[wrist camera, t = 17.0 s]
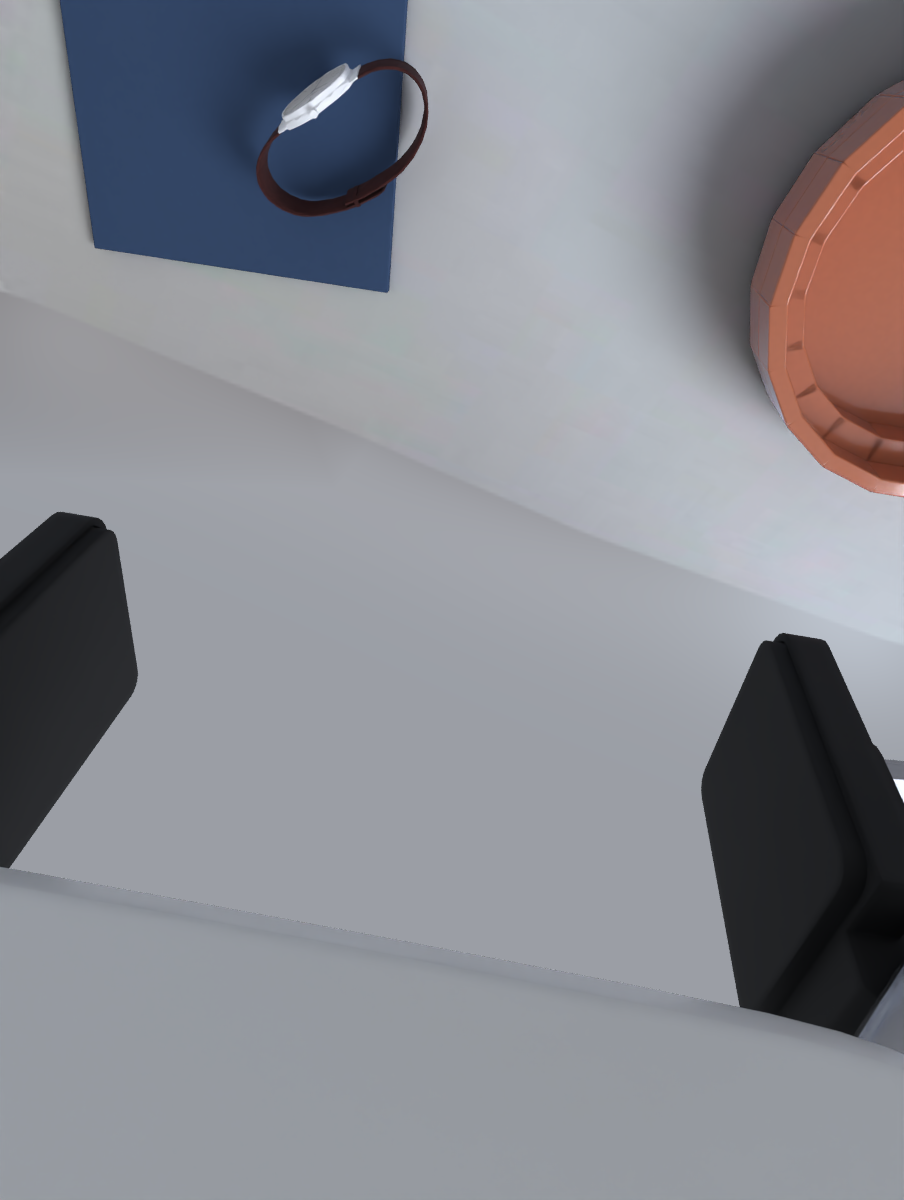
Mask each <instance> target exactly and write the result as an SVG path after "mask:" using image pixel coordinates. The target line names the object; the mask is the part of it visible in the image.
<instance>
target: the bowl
mask: <svg viewBox="0 0 904 1200" xmlns="http://www.w3.org/2000/svg"><path fill="white" fill-rule="evenodd" d="M750 345H751V349H752V352H753V355H754V358H755V361H756V364H757V366H758V369H759V372H760V375H761V378H762V381H763V384H764V386H765V389H766V392H767V395H768V396H769V398H770V400H771V401H772V403H773V405H774V406H775V408H776V409H777V411H778V413H779V414H780V416H781V418H782V419H783V421H784V422H785V424H786V426H787V427H788V428H789V429H790V431H791V432H792V433H793V434H794V435H795V436H796V437H797V439H798V440H799V441H800V442H801V443H802V444H803V445H804V447H805V448H806V449H807V450H808V451H809V452H810V453H811V455H812V456H813V457H814V458H815V459H816V460H817V461H818V463H819V464H820V465H821V466H823V467H824V468H826V469H828V470H829V471H831V472H833V473H835V474H837V475H839V476H841V477H843V478H845V479H847V480H849V481H851V482H853V483H855V484H856V485H858V486H860V487H862V488H864V489H866V490H868V491H870V492H874V493H881V494H887V495H893V496H899V497H904V80H902V81H901V82H899V83H897V84H895V85H893V86H891V87H890V88H888V89H886V90H884V91H882V92H880V93H879V94H878V96H877V95H876V96H875V97H873V98H872V99H871V100H870V101H869V102H868V103H867V104H866V105H865V106H864V107H863V108H862V109H861V110H860V111H859V112H857V113H856V114H855V115H854V116H853V117H852V118H851V119H850V120H849V121H848V122H847V123H846V124H845V125H844V126H842V127H841V128H840V129H839V130H838V131H837V132H836V133H835V134H834V135H833V136H832V137H831V138H830V139H829V140H827V141H826V142H825V143H824V144H823V145H822V146H821V147H820V148H819V149H818V150H817V151H816V152H815V153H814V154H813V155H812V157H811V159H810V160H809V162H808V163H807V165H806V166H805V168H804V169H803V171H802V172H801V174H800V176H799V177H798V179H797V180H796V182H795V183H794V185H793V186H792V188H791V189H790V191H789V193H788V194H787V196H786V197H785V199H784V200H783V202H782V203H781V205H780V206H779V208H778V210H777V211H776V213H775V214H774V216H773V217H772V220H771V222H770V226H769V229H768V232H767V235H766V238H765V241H764V244H763V247H762V250H761V253H760V257H759V260H758V263H757V266H756V269H755V272H754V275H753V278H752V281H751V287H750Z"/></svg>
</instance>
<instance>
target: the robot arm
mask: <svg viewBox="0 0 904 1200" xmlns="http://www.w3.org/2000/svg"><path fill="white" fill-rule="evenodd" d="M137 676H138V671H137V663H136V657H135V652H134V644H133V638H132V632H131V625H130V619H129V613H128V607H127V600H126V594H125V588H124V581H123V575H122V568H121V562H120V556H119V549H118V543H117V538H116V535H115V534H114V532H113V531H111V530H107V529H106V526H105V524H104V523H103V521H102V520H100V519H99V518H94V517H89V516H83V515H77V514H71V513H65V512H57V513H55V514H53V515H52V516H51V517H49V518H48V519H47V520H46V521H45V522H43V523H42V524H41V525H40V526H39V527H38V528H36V529H35V530H34V531H33V532H32V533H30V534H29V535H28V536H27V537H26V538H25V539H23V540H22V541H21V542H20V543H19V544H18V545H16V546H15V547H14V548H13V549H12V550H10V551H9V552H8V553H7V554H6V555H4V556H3V557H2V558H1V559H0V1200H904V802H903V800H902V797H901V795H900V793H899V791H898V789H897V786H896V784H895V782H894V780H893V778H892V775H891V773H890V771H889V769H888V767H887V765H886V762H885V760H884V758H883V756H882V754H881V753H880V751H879V750H878V748H877V747H876V746H875V745H873V743H872V742H871V739H870V737H869V734H868V732H867V730H866V728H865V725H864V723H863V721H862V719H861V717H860V714H859V712H858V710H857V708H856V706H855V703H854V701H853V699H852V697H851V695H850V692H849V690H848V688H847V686H846V683H845V682H844V679H843V677H842V674H841V672H840V670H839V668H838V666H837V663H836V661H835V659H834V657H833V655H832V652H831V650H830V648H829V646H828V644H827V643H826V641H824V640H821V639H816V638H810V637H804V636H798V635H792V634H786V633H782V634H779V635H778V636H777V637H776V638H775V640H774V641H773V642H772V641H763V643H762V644H761V645H760V647H759V648H758V651H757V653H756V655H755V657H754V660H753V662H752V664H751V666H750V669H749V671H748V673H747V675H746V678H745V680H744V682H743V684H742V687H741V689H740V691H739V694H738V696H737V698H736V700H735V703H734V705H733V707H732V709H731V712H730V714H729V716H728V718H727V721H726V723H725V725H724V728H723V730H722V732H721V734H720V737H719V739H718V741H717V743H716V746H715V748H714V750H713V752H712V755H711V757H710V759H709V762H708V764H707V766H706V768H705V771H704V774H703V778H702V787H701V788H702V789H701V791H702V801H703V806H704V812H705V817H706V823H707V828H708V833H709V839H710V845H711V850H712V856H713V861H714V867H715V872H716V878H717V884H718V889H719V894H720V900H721V906H722V911H723V917H724V922H725V928H726V933H727V938H728V944H729V950H730V955H731V961H732V966H733V972H734V977H735V983H736V989H737V994H738V1000H739V1005H740V1007H736V1006H731V1005H726V1004H722V1003H716V1002H712V1001H707V1000H702V999H698V998H693V997H688V996H683V995H679V994H674V993H669V992H664V991H659V990H654V989H650V988H645V987H640V986H635V985H630V984H625V983H620V982H614V981H609V980H604V979H599V978H593V977H588V976H583V975H578V974H573V973H567V972H563V971H557V970H552V969H546V968H542V967H537V966H531V965H526V964H521V963H516V962H511V961H505V960H500V959H495V958H490V957H485V956H479V955H474V954H469V953H463V952H459V951H453V950H448V949H443V948H438V947H433V946H427V945H421V944H417V943H411V942H406V941H401V940H395V939H390V938H385V937H379V936H374V935H369V934H363V933H357V932H353V931H347V930H342V929H337V928H331V927H326V926H320V925H315V924H310V923H305V922H299V921H294V920H289V919H283V918H278V917H272V916H267V915H262V914H256V913H251V912H245V911H240V910H234V909H229V908H224V907H219V906H213V905H208V904H203V903H197V902H192V901H186V900H181V899H175V898H170V897H164V896H159V895H153V894H148V893H142V892H136V891H131V890H126V889H120V888H115V887H109V886H103V885H98V884H92V883H86V882H81V881H76V880H70V879H65V878H59V877H54V876H48V875H43V874H37V873H31V872H26V871H21V870H15V869H9V868H10V866H11V865H12V863H13V862H14V861H15V859H16V858H17V856H18V855H19V854H20V852H21V851H22V849H23V848H24V847H25V845H26V844H27V842H28V841H29V839H30V838H31V837H32V835H33V834H34V832H35V831H36V830H37V828H38V827H39V825H40V824H41V823H42V821H43V820H44V818H45V817H46V815H47V814H48V813H49V811H50V810H51V808H52V807H53V806H54V804H55V803H56V801H57V800H58V799H59V797H60V796H61V794H62V793H63V791H64V790H65V789H66V787H67V786H68V784H69V783H70V782H71V780H72V779H73V777H74V776H75V775H76V773H77V772H78V770H79V769H80V767H81V766H82V765H83V763H84V762H85V760H86V759H87V758H88V756H89V755H90V753H91V752H92V751H93V749H94V748H95V746H96V745H97V744H98V742H99V741H100V739H101V738H102V736H103V735H104V734H105V732H106V731H107V729H108V728H109V727H110V725H111V724H112V722H113V721H114V720H115V718H116V717H117V715H118V714H119V712H120V711H121V710H122V708H123V707H124V705H125V704H126V702H127V701H128V700H129V698H130V697H131V695H132V693H133V692H134V689H135V686H136V683H137Z"/></svg>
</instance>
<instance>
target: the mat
mask: <svg viewBox="0 0 904 1200" xmlns="http://www.w3.org/2000/svg"><path fill="white" fill-rule="evenodd" d="M407 4H408V0H60V6H61V13H62V20H63V27H64V34H65V41H66V48H67V55H68V62H69V69H70V77H71V84H72V91H73V98H74V105H75V112H76V119H77V126H78V133H79V140H80V147H81V154H82V161H83V169H84V176H85V183H86V190H87V197H88V204H89V211H90V218H91V225H92V232H93V239H94V246H95V248H99V249H105V250H112V251H118V252H125V253H132V254H138V255H145V256H151V257H158V258H164V259H171V260H177V261H184V262H190V263H197V264H203V265H210V266H216V267H223V268H229V269H236V270H242V271H249V272H255V273H262V274H268V275H275V276H281V277H288V278H294V279H301V280H307V281H314V282H320V283H327V284H333V285H340V286H346V287H353V288H359V289H366V290H372V291H379V292H385V293H387V292H388V291H389V282H390V267H391V251H392V236H393V220H394V205H395V189H396V178H395V179H394V180H392V181H391V182H389V183H388V184H387V186H386V188H385V190H384V192H383V193H381V194H380V195H379V196H377V197H375V198H373V199H371V200H369V201H367V202H366V203H364V204H362V205H361V206H360V207H355V208H352V209H349V210H346V211H342V212H338V213H333V214H329V215H325V216H316V217H301V216H296V215H293V214H290V213H288V212H285V211H283V210H281V209H279V208H278V207H276V206H275V205H274V204H272V203H271V202H270V201H269V200H268V199H267V198H266V196H265V195H264V194H263V192H262V191H261V189H260V187H259V185H258V182H257V177H256V165H257V160H258V157H259V154H260V152H261V150H262V149H263V147H264V145H265V144H266V142H267V141H268V139H269V138H270V136H271V135H272V133H273V132H274V131H275V130H276V129H277V127H278V126H279V125H280V123H281V122H282V120H283V118H282V112H283V111H284V110H285V108H286V107H287V106H288V104H289V103H290V102H291V101H293V100H294V99H295V98H296V97H297V96H298V95H299V94H300V93H301V92H303V91H304V90H305V89H306V88H307V87H308V86H310V85H311V84H312V83H314V82H315V81H316V80H318V79H319V78H321V77H322V76H323V75H325V74H326V73H328V72H329V71H331V70H333V69H335V68H336V67H338V66H340V65H343V64H345V63H346V64H348V66H349V68H350V69H352V70H353V69H355V68H356V67H357V66H359V65H361V66H362V65H364V64H367V63H369V62H372V61H375V60H380V59H389V58H392V59H397V60H401V61H404V50H405V35H406V19H407ZM402 81H403V72H400V71H398V70H379V71H375V72H371V73H369V74H368V75H366V76H364V77H362V78H360V79H358V80H356V81H354V82H353V83H352V85H351V86H350V88H349V89H348V90H347V91H346V92H345V93H343V94H342V95H341V96H340V97H339V98H338V99H337V100H335V101H334V102H333V103H332V104H330V105H329V106H328V107H327V108H325V109H324V110H323V111H322V112H320V113H319V114H318V116H317V118H315V119H314V118H313V119H311V120H309V121H308V122H306V123H304V124H302V125H300V126H298V127H296V128H294V129H291V130H288V129H287V130H285V131H284V132H282V133H281V134H280V135H279V136H278V137H277V138H276V139H275V140H273V142H272V144H271V146H270V149H269V152H268V168H269V171H270V173H271V175H272V177H273V179H274V180H275V181H276V183H277V184H278V185H279V186H280V188H282V189H283V190H285V191H286V192H288V193H289V194H290V195H293V196H295V197H298V198H300V199H303V200H309V201H320V200H326V199H333V198H336V197H339V196H343V195H346V194H347V191H348V190H349V189H351V188H353V187H354V186H357V185H360V184H363V183H365V182H367V181H368V180H370V179H372V178H373V177H375V176H376V175H378V174H380V173H381V172H383V171H384V170H386V169H387V168H389V167H390V166H392V165H393V164H394V163H395V162H397V158H398V143H399V127H400V112H401V97H402Z"/></svg>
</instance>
